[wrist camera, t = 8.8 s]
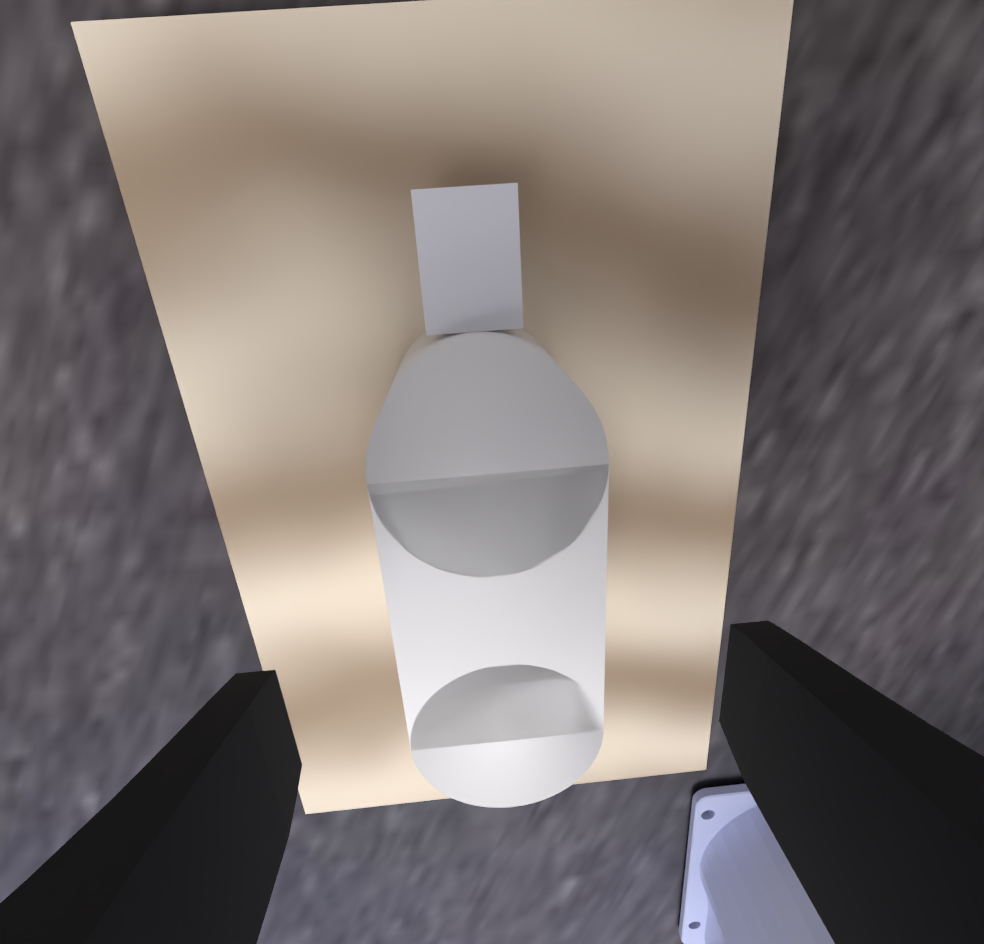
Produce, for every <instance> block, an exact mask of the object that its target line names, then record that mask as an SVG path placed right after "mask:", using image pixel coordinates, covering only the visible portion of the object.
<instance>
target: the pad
mask: <svg viewBox="0 0 984 944" xmlns="http://www.w3.org/2000/svg"><path fill="white" fill-rule="evenodd" d="M793 1H794V0H425V1H408V2H392V3H375V4H359V5H342V6H326V7H310V8H293V9H277V10H260V11H244V12H227V13H211V14H194V15H178V16H161V17H145V18H129V19H112V20H96V21H79V22H71V25H72V28H73V32H74V35H75V39H76V42H77V45H78V49H79V52H80V55H81V59H82V62H83V65H84V69H85V72H86V76H87V79H88V82H89V86H90V89H91V92H92V96H93V99H94V103H95V106H96V109H97V113H98V116H99V119H100V123H101V126H102V129H103V133H104V136H105V140H106V143H107V146H108V150H109V153H110V156H111V160H112V163H113V167H114V170H115V173H116V177H117V180H118V183H119V187H120V190H121V194H122V197H123V200H124V204H125V207H126V210H127V214H128V217H129V220H130V224H131V227H132V231H133V234H134V237H135V241H136V244H137V247H138V251H139V254H140V258H141V261H142V264H143V268H144V271H145V274H146V278H147V281H148V285H149V288H150V291H151V295H152V298H153V301H154V305H155V308H156V311H157V315H158V318H159V322H160V325H161V328H162V332H163V335H164V338H165V342H166V345H167V349H168V352H169V355H170V359H171V362H172V365H173V369H174V372H175V376H176V379H177V382H178V386H179V389H180V392H181V396H182V399H183V402H184V406H185V409H186V413H187V416H188V419H189V423H190V426H191V429H192V433H193V436H194V440H195V443H196V446H197V450H198V453H199V456H200V460H201V463H202V467H203V470H204V473H205V477H206V480H207V483H208V487H209V490H210V493H211V497H212V500H213V504H214V507H215V510H216V514H217V517H218V520H219V524H220V527H221V531H222V534H223V537H224V541H225V544H226V547H227V551H228V554H229V558H230V561H231V564H232V568H233V571H234V574H235V578H236V581H237V584H238V588H239V591H240V595H241V598H242V601H243V605H244V608H245V611H246V615H247V618H248V622H249V625H250V628H251V632H252V635H253V638H254V642H255V645H256V649H257V652H258V655H259V659H260V662H261V665H262V669H263V671H268V670H276V674H277V677H278V681H279V684H280V688H281V691H282V695H283V698H284V702H285V706H286V709H287V713H288V716H289V720H290V723H291V727H292V730H293V734H294V737H295V741H296V744H297V748H298V752H299V755H300V759H301V762H302V769H301V774H300V780H299V786H298V790H299V793H300V797H301V800H302V804H303V807H304V810H305V814H311V813H320V812H329V811H338V810H347V809H356V808H365V807H374V806H383V805H392V804H401V803H410V802H419V801H428V800H437V799H446V798H451V797H449V796H446V795H445V794H443V793H441V792H440V791H438V790H437V789H436V788H434V787H433V786H432V785H431V784H429V783H428V782H427V780H426V779H425V778H424V777H423V776H422V775H421V773H420V772H419V770H418V769H417V767H416V764H415V762H414V760H413V756H412V753H411V748H410V742H409V736H408V730H407V724H406V718H405V712H404V706H403V699H402V693H401V687H400V681H399V675H398V669H397V663H396V657H395V651H394V645H393V639H392V633H391V627H390V621H389V615H388V609H387V603H386V597H385V591H384V585H383V579H382V573H381V567H380V561H379V555H378V549H377V543H376V537H375V531H374V525H373V519H372V513H371V507H370V501H369V495H368V489H367V481H366V471H365V468H366V453H367V448H368V443H369V439H370V436H371V433H372V430H373V427H374V424H375V422H376V420H377V417H378V415H379V413H380V410H381V408H382V406H383V403H384V401H385V399H386V396H387V394H388V392H389V389H390V387H391V385H392V382H393V380H394V378H395V375H396V373H397V371H398V368H399V366H400V364H401V361H402V360H403V358H404V356H405V354H406V352H407V350H408V349H409V348H410V346H411V345H412V343H413V342H414V341H415V340H416V339H417V338H418V337H419V336H420V335H421V334H422V333H423V332H424V331H426V328H425V319H424V309H423V300H422V291H421V282H420V272H419V263H418V254H417V244H416V235H415V226H414V217H413V207H412V198H411V190H413V189H429V188H444V187H460V186H475V185H490V184H506V183H518V205H519V230H520V255H521V280H522V304H523V328H524V329H525V330H527V331H528V332H529V333H530V334H532V336H533V337H534V338H535V339H536V340H537V341H538V342H539V343H540V344H541V345H542V346H543V348H544V349H545V350H546V351H547V352H548V353H549V354H550V356H551V357H552V358H553V359H554V360H555V361H556V362H557V364H558V365H559V366H560V367H561V368H562V369H563V370H564V372H565V373H566V374H567V375H568V376H569V377H570V378H571V380H572V381H573V382H574V383H575V384H576V385H577V386H578V388H579V389H580V390H581V391H582V392H583V393H584V394H585V396H586V397H587V399H588V400H589V401H590V403H591V404H592V406H593V407H594V409H595V411H596V413H597V415H598V417H599V419H600V421H601V423H602V426H603V429H604V432H605V435H606V440H607V445H608V453H609V491H608V539H607V587H606V635H605V683H604V731H603V740H602V744H601V747H600V750H599V752H598V755H597V757H596V759H595V760H594V762H593V763H592V765H591V766H590V768H589V769H588V770H587V771H586V772H585V773H584V775H583V776H581V777H580V778H579V779H578V780H577V781H576V782H575V783H573V784H581V783H590V782H599V781H608V780H617V779H626V778H636V777H645V776H654V775H663V774H672V773H681V772H690V771H699V770H706V765H707V756H708V747H709V739H710V730H711V721H712V712H713V704H714V695H715V686H716V677H717V668H718V660H719V651H720V642H721V633H722V625H723V616H724V607H725V598H726V589H727V581H728V572H729V563H730V554H731V546H732V537H733V528H734V519H735V510H736V502H737V493H738V484H739V475H740V467H741V458H742V449H743V440H744V431H745V423H746V414H747V405H748V396H749V388H750V379H751V370H752V361H753V352H754V344H755V335H756V326H757V317H758V309H759V300H760V291H761V282H762V274H763V265H764V256H765V247H766V238H767V230H768V221H769V212H770V203H771V195H772V186H773V177H774V168H775V159H776V151H777V142H778V133H779V124H780V116H781V107H782V98H783V89H784V80H785V72H786V63H787V54H788V45H789V37H790V28H791V19H792V10H793Z"/></svg>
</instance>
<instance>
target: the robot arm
mask: <svg viewBox="0 0 984 944" xmlns="http://www.w3.org/2000/svg"><path fill="white" fill-rule="evenodd" d="M719 721H720V724H721V726H722V729H723V731H724V734H725V736H726V739H727V741H728V744H729V746H730V748H731V751H732V753H733V756H734V758H735V760H736V763H737V765H738V767H739V770H740V772H741V774H742V776H743V779H744V781H745V784H736V785H728V786H719V787H710V788H703V789H700V790H699V791H697V792H696V793H695V794H694V796H693V798H692V807H691V817H690V826H689V836H688V846H687V855H686V865H685V875H684V884H683V894H682V904H681V913H680V923H679V935H680V938H681V941H682V942H683V943H684V944H984V756H982V755H980V754H978V753H977V752H975V751H973V750H972V749H970V748H968V747H966V746H965V745H963V744H961V743H960V742H958V741H956V740H955V739H953V738H951V737H950V736H948V735H947V734H945V733H943V732H942V731H940V730H938V729H937V728H935V727H933V726H932V725H930V724H929V723H927V722H925V721H924V720H922V719H921V718H919V717H917V716H916V715H914V714H913V713H911V712H909V711H908V710H906V709H905V708H903V707H902V706H900V705H898V704H897V703H895V702H894V701H892V700H891V699H889V698H887V697H886V696H884V695H883V694H881V693H880V692H878V691H877V690H875V689H873V688H872V687H870V686H869V685H867V684H866V683H864V682H863V681H861V680H860V679H858V678H857V677H855V676H853V675H852V674H850V673H849V672H847V671H846V670H844V669H843V668H841V667H840V666H838V665H837V664H835V663H834V662H832V661H831V660H829V659H828V658H826V657H825V656H823V655H822V654H820V653H818V652H817V651H815V650H814V649H812V648H811V647H809V646H808V645H806V644H805V643H803V642H802V641H800V640H799V639H797V638H795V637H794V636H792V635H791V634H789V633H788V632H786V631H784V630H783V629H781V628H780V627H778V626H776V625H775V624H773V623H771V622H770V621H760V622H750V623H740V624H731V626H730V634H729V643H728V651H727V660H726V668H725V677H724V685H723V694H722V702H721V711H720V719H719ZM301 769H302V762H301V759H300V755H299V752H298V748H297V744H296V741H295V737H294V734H293V730H292V727H291V723H290V720H289V716H288V713H287V709H286V706H285V702H284V698H283V695H282V691H281V688H280V684H279V681H278V677H277V674H276V670H268V671H258V672H248V673H238V674H235V675H234V676H233V677H232V678H231V679H230V680H229V681H228V682H227V683H226V684H225V685H224V686H223V687H222V688H221V689H220V690H219V691H218V692H217V693H216V694H215V695H214V696H213V697H212V698H211V699H210V700H209V701H208V702H207V703H206V704H205V705H204V706H203V707H202V708H201V709H200V710H199V711H198V712H197V713H196V715H195V716H194V717H193V718H192V719H191V720H190V721H189V722H188V723H187V724H186V725H185V726H184V727H183V728H182V729H181V730H180V731H179V732H178V733H177V734H176V735H175V736H174V737H173V738H172V739H171V740H170V741H169V742H168V743H167V744H166V745H165V746H164V747H163V748H162V749H161V750H160V751H159V753H158V754H157V755H156V756H155V757H154V758H153V759H152V760H151V761H150V762H149V763H148V764H147V765H146V766H145V767H144V768H143V769H142V770H141V771H140V772H139V773H138V774H137V775H136V776H135V777H134V778H133V779H132V780H131V781H130V782H129V783H128V784H127V785H126V786H125V787H124V788H123V789H122V790H121V791H120V792H119V793H118V794H117V795H116V796H115V797H114V798H113V799H112V800H111V801H110V802H109V803H108V804H107V805H105V806H104V807H103V808H102V809H101V810H100V811H99V812H98V813H97V814H96V815H95V816H94V817H93V818H92V819H91V820H90V821H89V822H87V823H86V824H85V825H84V826H83V827H82V828H81V829H80V830H79V831H78V832H77V833H76V834H75V835H74V836H73V837H72V838H71V839H69V840H68V841H67V842H66V843H65V844H64V845H63V846H62V847H61V848H60V849H59V850H58V851H57V852H56V853H55V854H54V855H53V856H51V857H50V858H49V859H48V860H47V861H46V862H45V863H44V864H43V865H42V866H41V867H40V868H39V869H38V870H37V871H36V872H35V873H33V874H32V875H31V876H30V877H29V878H28V879H27V880H26V881H25V882H24V883H23V884H21V885H20V886H19V887H18V888H17V889H16V890H15V891H14V892H13V893H11V894H10V895H9V896H8V897H7V898H6V899H5V900H4V901H2V902H1V903H0V944H256V943H257V940H258V936H259V933H260V930H261V927H262V923H263V920H264V917H265V914H266V910H267V907H268V904H269V901H270V897H271V894H272V891H273V887H274V884H275V881H276V877H277V874H278V871H279V867H280V864H281V861H282V858H283V854H284V851H285V847H286V844H287V840H288V837H289V832H290V827H291V823H292V818H293V813H294V808H295V803H296V797H297V791H298V786H299V780H300V774H301Z"/></svg>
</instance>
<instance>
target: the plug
mask: <svg viewBox="0 0 984 944" xmlns="http://www.w3.org/2000/svg"><path fill="white" fill-rule="evenodd" d="M411 198H412V207H413V217H414V226H415V235H416V244H417V254H418V263H419V272H420V282H421V291H422V300H423V309H424V319H425V328H426V331H424V332H423V333H422V334H421V335H420V336H419V337H418V338H417V339H416V340H415V341H414V342H413V343H412V345H411V346H410V348H409V349H408V350H407V352H406V354H405V356H404V358H403V360H402V361H401V364H400V366H399V368H398V371H397V373H396V375H395V378H394V380H393V382H392V385H391V387H390V389H389V392H388V394H387V396H386V399H385V401H384V403H383V406H382V408H381V410H380V413H379V415H378V417H377V420H376V422H375V424H374V427H373V430H372V433H371V436H370V439H369V443H368V448H367V453H366V468H365V471H366V481H367V489H368V495H369V501H370V507H371V513H372V519H373V525H374V531H375V537H376V543H377V549H378V555H379V561H380V567H381V573H382V579H383V585H384V591H385V597H386V603H387V609H388V615H389V621H390V627H391V633H392V639H393V645H394V651H395V657H396V663H397V669H398V675H399V681H400V687H401V693H402V699H403V706H404V712H405V718H406V724H407V730H408V736H409V742H410V748H411V753H412V756H413V760H414V762H415V764H416V767H417V769H418V770H419V772H420V773H421V775H422V776H423V777H424V778H425V779H426V780H427V782H428V783H429V784H431V785H432V786H433V787H434V788H436V789H437V790H438V791H440V792H441V793H443V794H445V795H446V796H449V797H451V798H453V799H455V800H458V801H461V802H464V803H467V804H471V805H476V806H483V807H496V808H503V807H515V806H522V805H527V804H531V803H535V802H538V801H541V800H544V799H547V798H549V797H551V796H553V795H556V794H558V793H559V792H561V791H563V790H565V789H566V788H568V787H569V786H571V785H572V784H573V783H575V782H576V781H577V780H578V779H579V778H580V777H581V776H583V775H584V773H585V772H586V771H587V770H588V769H589V768H590V766H591V765H592V763H593V762H594V760H595V759H596V757H597V755H598V752H599V750H600V747H601V744H602V740H603V731H604V683H605V635H606V587H607V539H608V491H609V453H608V445H607V440H606V435H605V432H604V429H603V426H602V423H601V421H600V419H599V417H598V415H597V413H596V411H595V409H594V407H593V406H592V404H591V403H590V401H589V400H588V399H587V397H586V396H585V394H584V393H583V392H582V391H581V390H580V389H579V388H578V386H577V385H576V384H575V383H574V382H573V381H572V380H571V378H570V377H569V376H568V375H567V374H566V373H565V372H564V370H563V369H562V368H561V367H560V366H559V365H558V364H557V362H556V361H555V360H554V359H553V358H552V357H551V356H550V354H549V353H548V352H547V351H546V350H545V349H544V348H543V346H542V345H541V344H540V343H539V342H538V341H537V340H536V339H535V338H534V337H533V336H532V334H530V333H529V332H528V331H527V330H525V329H524V328H523V304H522V280H521V255H520V230H519V205H518V183H506V184H490V185H475V186H460V187H444V188H429V189H413V190H411Z"/></svg>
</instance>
